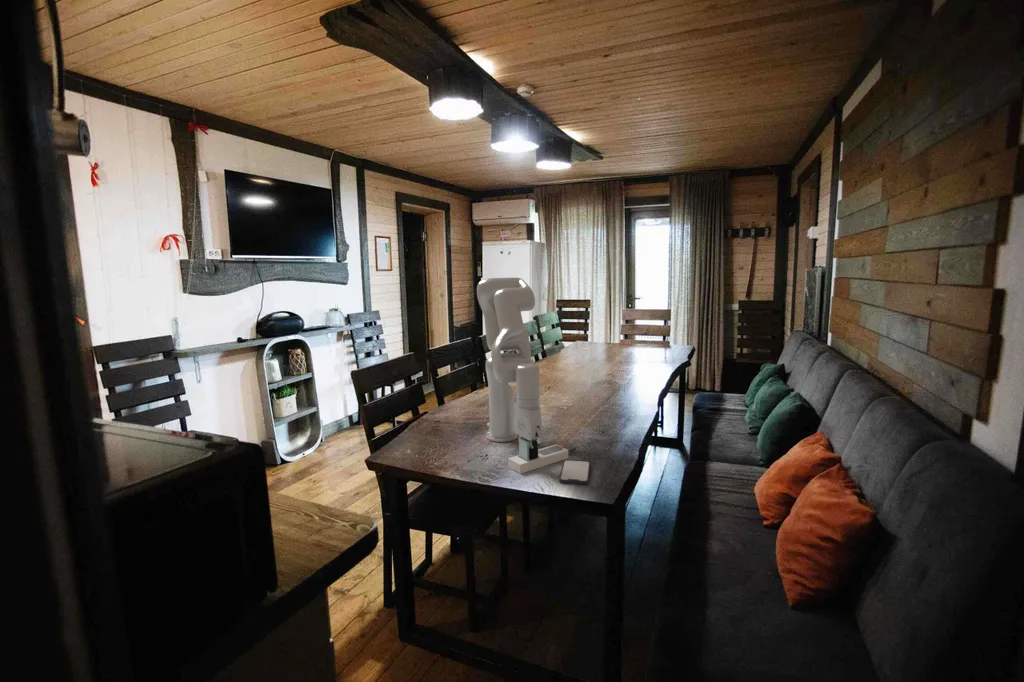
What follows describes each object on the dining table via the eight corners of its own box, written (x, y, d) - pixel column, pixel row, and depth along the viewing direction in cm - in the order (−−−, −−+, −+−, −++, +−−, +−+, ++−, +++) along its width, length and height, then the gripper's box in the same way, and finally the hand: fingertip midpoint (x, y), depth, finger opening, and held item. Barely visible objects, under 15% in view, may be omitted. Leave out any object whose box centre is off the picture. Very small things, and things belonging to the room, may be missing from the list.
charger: (519, 459, 163) (518, 437, 162) (530, 456, 166) (530, 434, 165) (527, 464, 160) (527, 441, 158) (538, 460, 162) (538, 438, 161)
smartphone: (563, 464, 165) (558, 484, 149) (563, 459, 165) (558, 479, 149) (590, 466, 163) (588, 486, 148) (590, 461, 163) (588, 481, 148)
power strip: (508, 466, 162) (508, 456, 162) (569, 448, 177) (569, 438, 176) (519, 473, 157) (519, 462, 156) (581, 454, 171) (581, 444, 171)
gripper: (503, 398, 164) (504, 450, 167) (534, 410, 150) (535, 467, 154) (522, 394, 168) (522, 445, 172) (553, 406, 155) (554, 461, 158)
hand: (528, 455), depth 163 cm, fingers closed on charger, 4 cm apart
